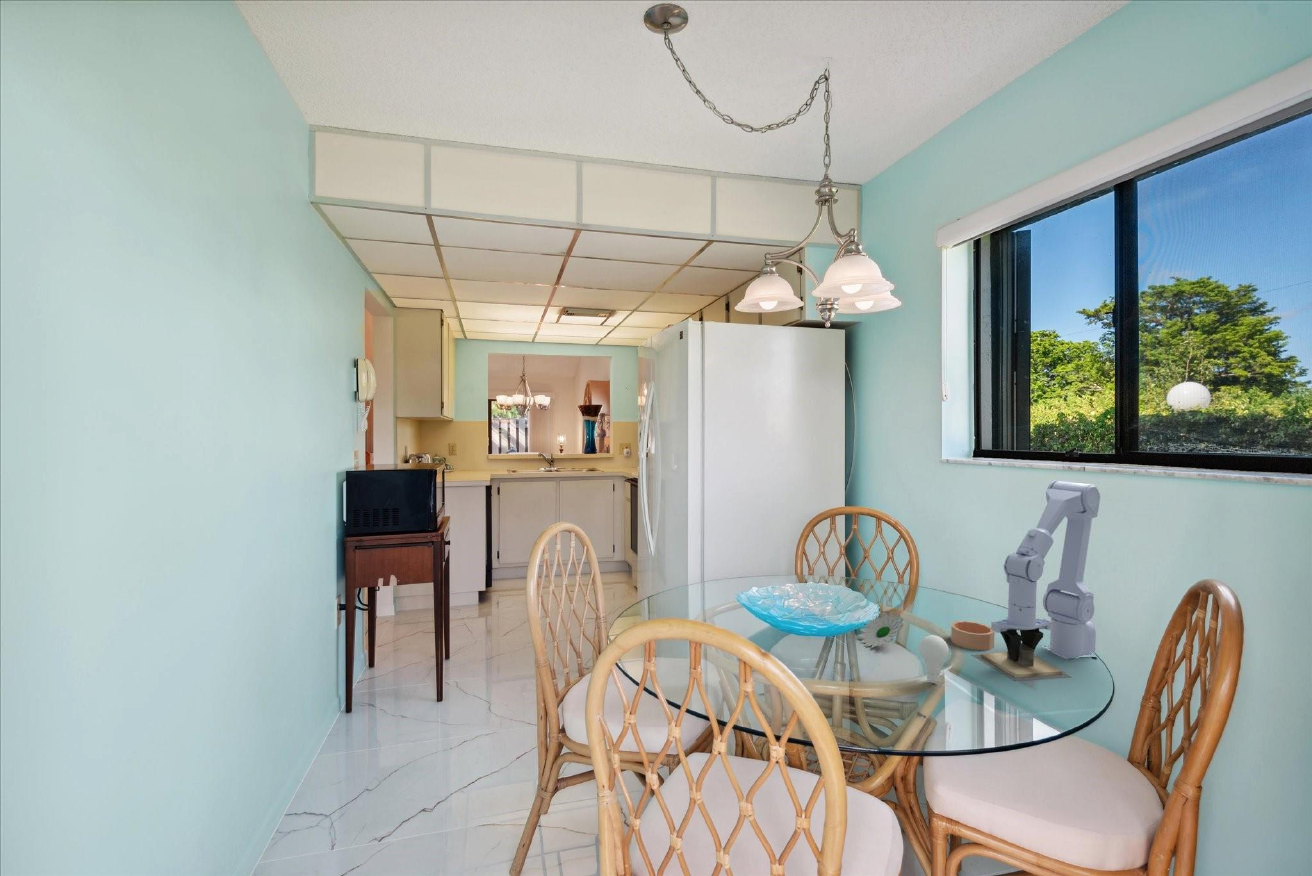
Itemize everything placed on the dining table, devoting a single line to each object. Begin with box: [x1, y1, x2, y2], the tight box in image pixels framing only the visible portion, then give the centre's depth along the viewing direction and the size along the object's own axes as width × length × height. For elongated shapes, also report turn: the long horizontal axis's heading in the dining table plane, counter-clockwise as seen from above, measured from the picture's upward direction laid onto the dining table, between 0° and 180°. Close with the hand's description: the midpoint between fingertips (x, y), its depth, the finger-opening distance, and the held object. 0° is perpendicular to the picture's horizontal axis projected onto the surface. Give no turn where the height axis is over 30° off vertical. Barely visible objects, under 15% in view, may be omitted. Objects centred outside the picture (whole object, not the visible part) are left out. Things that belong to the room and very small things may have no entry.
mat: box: [971, 653, 1073, 682], centre depth 148 cm, size 15×15×1 cm
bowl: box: [950, 620, 995, 651], centre depth 163 cm, size 10×10×4 cm
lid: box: [980, 642, 1063, 678], centre depth 148 cm, size 12×12×5 cm
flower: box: [857, 611, 904, 649], centre depth 171 cm, size 13×6×30 cm
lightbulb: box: [918, 634, 950, 685], centre depth 139 cm, size 6×6×11 cm
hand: (1020, 659), depth 148 cm, fingers closed on lid, 3 cm apart
